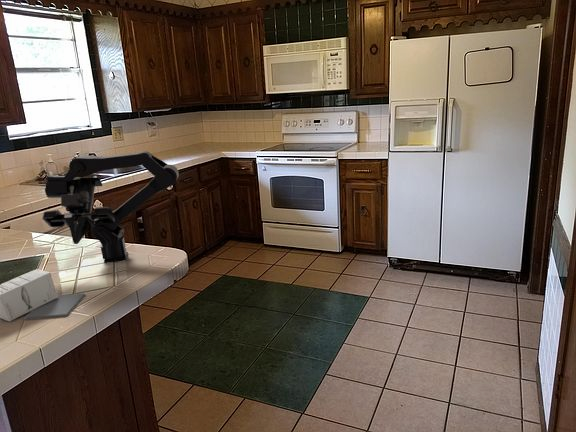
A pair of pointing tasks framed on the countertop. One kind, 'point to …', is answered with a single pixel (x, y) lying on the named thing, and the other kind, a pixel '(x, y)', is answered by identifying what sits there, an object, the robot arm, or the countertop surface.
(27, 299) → the supplement box
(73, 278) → the countertop surface
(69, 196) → the robot arm
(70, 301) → the rubber mat
